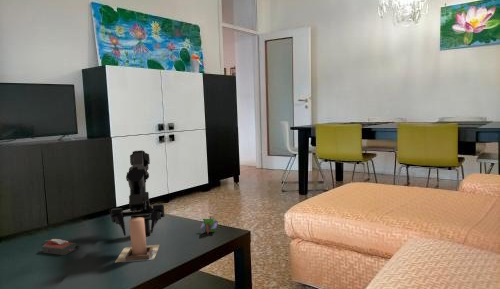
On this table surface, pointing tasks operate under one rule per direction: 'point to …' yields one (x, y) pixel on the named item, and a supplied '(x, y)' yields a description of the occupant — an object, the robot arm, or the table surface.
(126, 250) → the tan flat square frame
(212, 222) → the geometric puzzle
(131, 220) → the terracotta column
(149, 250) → the walnut socket
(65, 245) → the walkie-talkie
